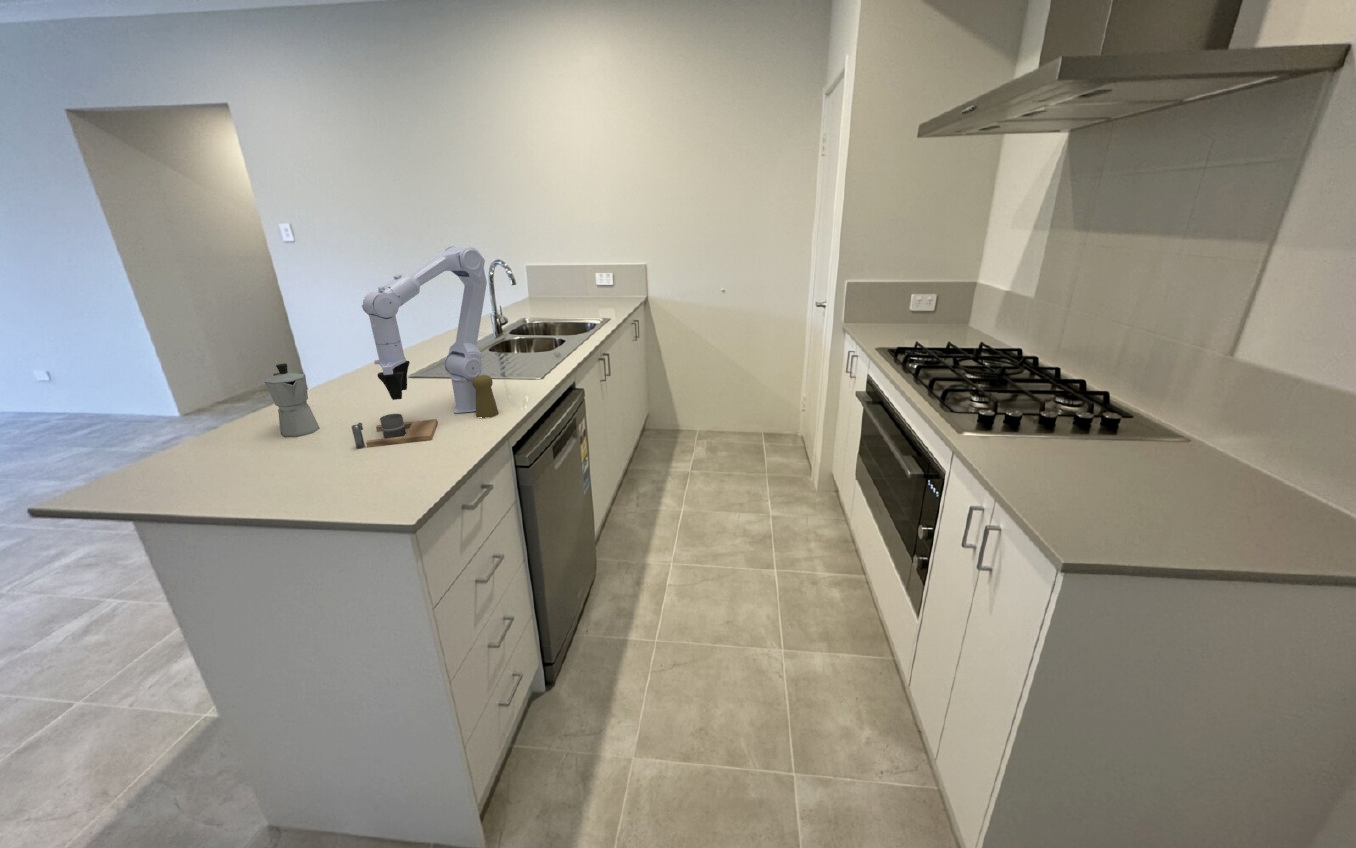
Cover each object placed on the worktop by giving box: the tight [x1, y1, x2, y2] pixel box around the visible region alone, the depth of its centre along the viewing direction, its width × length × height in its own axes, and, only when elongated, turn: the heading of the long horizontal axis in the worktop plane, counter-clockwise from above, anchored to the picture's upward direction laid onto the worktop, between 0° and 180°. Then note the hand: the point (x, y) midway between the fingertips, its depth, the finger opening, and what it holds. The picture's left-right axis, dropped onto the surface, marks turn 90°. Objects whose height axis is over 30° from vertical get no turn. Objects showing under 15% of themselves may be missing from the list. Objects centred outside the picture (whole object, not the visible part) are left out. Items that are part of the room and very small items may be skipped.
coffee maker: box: [264, 363, 321, 439], centre depth 141 cm, size 15×9×18 cm, turn 47°
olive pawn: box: [472, 374, 499, 419], centre depth 151 cm, size 6×6×11 cm
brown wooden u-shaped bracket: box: [365, 418, 439, 448], centre depth 140 cm, size 14×12×1 cm
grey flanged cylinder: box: [379, 413, 407, 439], centre depth 139 cm, size 5×5×5 cm
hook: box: [351, 422, 366, 450], centre depth 133 cm, size 2×5×6 cm, turn 16°
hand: (399, 394), depth 141 cm, fingers open, 7 cm apart
